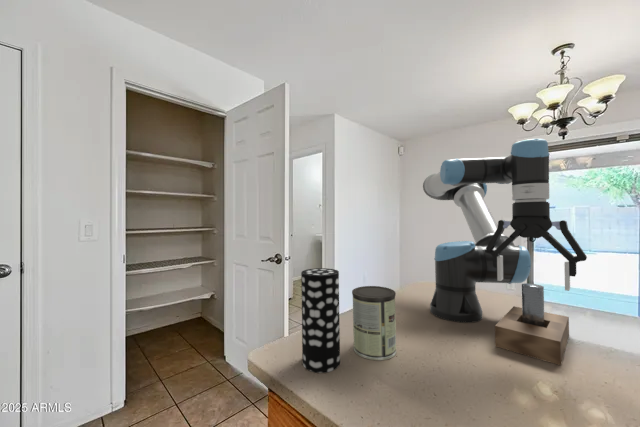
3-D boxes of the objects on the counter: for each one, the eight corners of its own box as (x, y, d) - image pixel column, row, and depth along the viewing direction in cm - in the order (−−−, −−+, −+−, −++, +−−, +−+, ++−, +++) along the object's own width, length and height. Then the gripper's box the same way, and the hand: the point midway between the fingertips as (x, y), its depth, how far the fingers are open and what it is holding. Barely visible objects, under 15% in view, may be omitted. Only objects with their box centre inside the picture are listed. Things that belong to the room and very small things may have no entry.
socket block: (495, 346, 66) (494, 325, 66) (514, 323, 80) (513, 306, 80) (560, 365, 57) (560, 341, 57) (569, 335, 71) (568, 316, 71)
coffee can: (357, 337, 72) (356, 284, 72) (397, 343, 68) (396, 287, 69) (348, 356, 62) (347, 295, 62) (395, 364, 59) (394, 299, 59)
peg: (521, 340, 69) (520, 285, 69) (524, 335, 72) (523, 282, 72) (543, 346, 65) (542, 288, 66) (546, 340, 69) (544, 285, 69)
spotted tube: (312, 377, 54) (311, 277, 55) (296, 358, 62) (295, 270, 62) (347, 366, 58) (345, 273, 58) (328, 349, 66) (327, 267, 66)
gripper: (471, 203, 76) (473, 278, 76) (600, 198, 57) (602, 298, 57) (480, 203, 81) (481, 274, 81) (600, 199, 63) (602, 290, 63)
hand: (531, 284), depth 69 cm, fingers open, 13 cm apart
